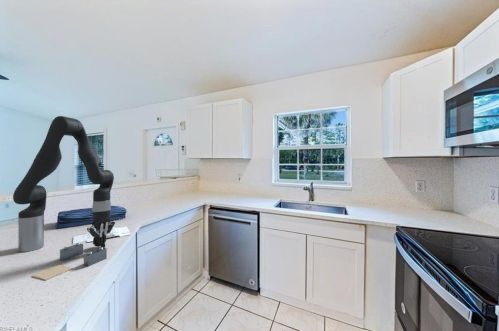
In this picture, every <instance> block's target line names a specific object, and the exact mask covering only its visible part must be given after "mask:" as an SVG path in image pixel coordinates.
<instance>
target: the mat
mask: <svg viewBox="0 0 499 331" xmlns="http://www.w3.org/2000/svg"><path fill="white" fill-rule="evenodd" d="M72 270H74V268H73V267H70V266H67V265H62V264H57V265H55V266H51V267H49V268H47V269H44V270H41V271H39V272H36V273H34V274H32V275H31V277H32V278H36V279H39V280H43V281H48V280H51V279H53V278H55V277H58V276H61V275H62V274H64V273H65V274H66V273H67V272H70V271H72Z"/></svg>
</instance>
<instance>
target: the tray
mask: <svg viewBox="0 0 499 331" xmlns="http://www.w3.org/2000/svg"><path fill="white" fill-rule="evenodd" d="M94 231H95V232H96V230H94ZM129 235H131V231H130V229H129V228H128V227H127V226H120V227H114V226H113V228H112V230H111V232H110V233H108V234H107V235H106V239H107V238H113V237H116V236H117V237H118V236H119V237H124V236H129ZM93 238H94V237H93V236H92V235H91V234H90V233H89V232H88V231H87V232H86V233H85V234H81V235H75V236H73V238H72V239H73V240H72V244H73V245H75V244H76V243H80V244H81V243H85V242H86V243H90V242H93Z"/></svg>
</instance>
